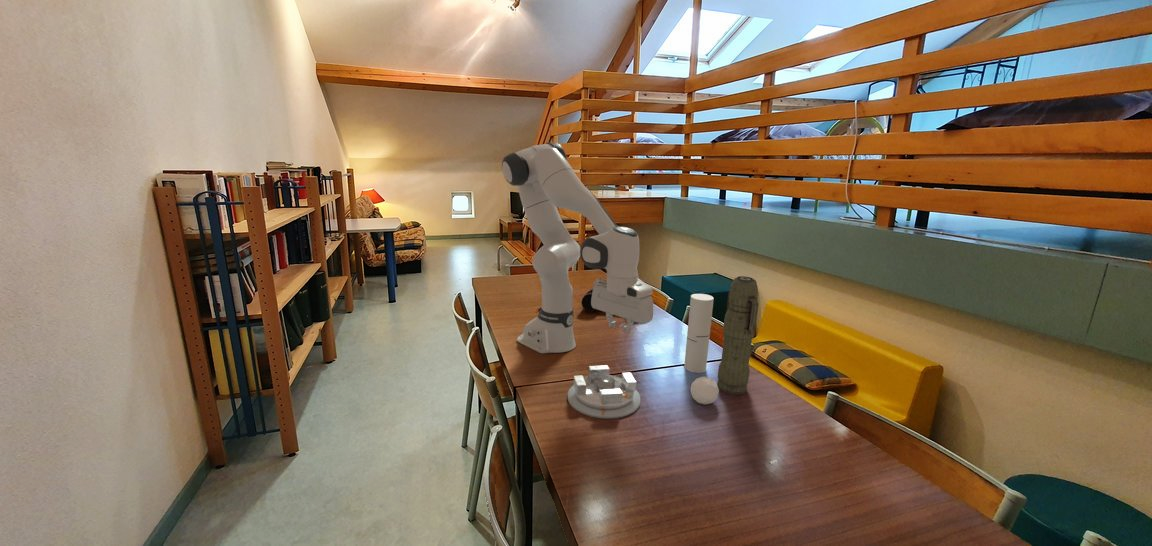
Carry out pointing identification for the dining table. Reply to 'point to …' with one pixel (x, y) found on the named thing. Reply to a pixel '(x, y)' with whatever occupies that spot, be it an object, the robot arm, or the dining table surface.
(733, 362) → the thermos
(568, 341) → the robot arm
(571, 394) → the cap plate
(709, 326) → the cylindrical container
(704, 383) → the geometric ball
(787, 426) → the dining table surface
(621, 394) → the tabbed round base
